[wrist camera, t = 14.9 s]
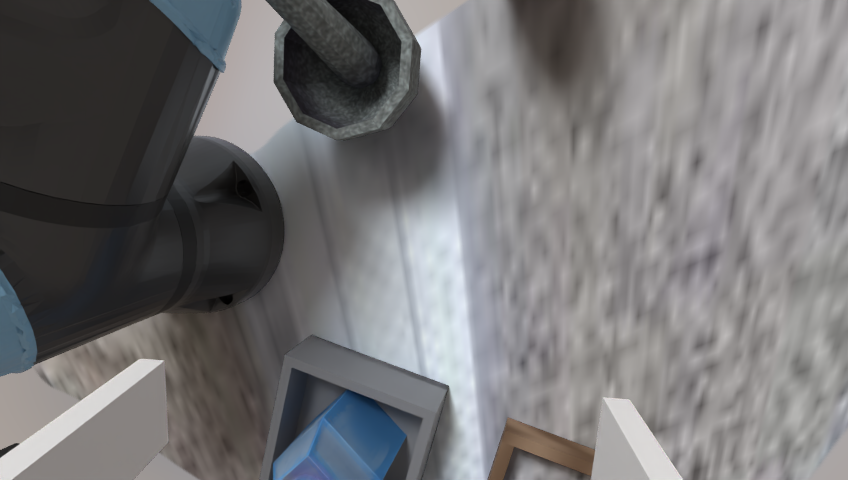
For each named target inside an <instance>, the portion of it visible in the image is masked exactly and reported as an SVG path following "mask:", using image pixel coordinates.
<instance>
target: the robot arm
mask: <svg viewBox="0 0 848 480" xmlns="http://www.w3.org/2000/svg"><path fill="white" fill-rule="evenodd" d="M240 12H241V0H0V376H3V375H7V374H9V373H21V372H24V371H26V370H28V369H30V368H32V366H34V365H35V364H37V363H40V362H42V361H45V360H47V359H49V358H52V357H54V356H57V355H59V354H62V353H64V352H66V351H69V350H71V349H74V348H76V347H78V346H81V345H83V344H86V343H88V342H91V341H93V340H95V339H98V338H100V337H103V336H105V335H107V334H110V333H112V332H115V331H117V330H120V329H122V328H124V327H127V326H129V325H132V324H134V323H137V322H139V321H142V320H144V319H147V318H149V317H152V316H154V315H157V314H159V313H211V312H217V311H221V310H225V309H227V308H230V307H232V306H234V305H236V304H239V303H241V302H243V301H245V300H247V299H249V298H251V297H252V296H254V295H255V294H256V293H258V292H259V291H260V290H261V289H262V288H263V287H264V286H265V285H266V283H267V282H268V281H269V279H270V278H271V277H272V275H273V273H274V271H275V269H276V267H277V265H278V262H279V259H280V256H281V252H282V247H283V240H284V222H283V215H282V209H281V206H280V202H279V199H278V196H277V194H276V191H275V189H274V187H273V185H272V183H271V181H270V179H269V178H268V176H267V174H266V173H265V172H264V170H263V169H262V168H261V166H260V165H259V164H258V163H257V162H256V161H255V160H254V159H253V158H252V157H251V156H250V155H249V154H248V153H246V152H245V151H244V150H242V149H241V148H239V147H237V146H235V145H234V144H232V143H230V142H227V141H225V140H222V139H219V138H215V137H207V136H193V135H194V133H195V131H196V128H197V126H198V124H199V121H200V119H201V117H202V114H203V112H204V109H205V107H206V105H207V102H208V100H209V98H210V95H211V93H212V91H213V88H214V86H215V84H216V81H217V79H218V77H219V74H220V72H223V73H224V71H225V68H226V63H225V60H224V59H225V56H226V53H227V50H228V47H229V45H230V42H231V39H232V36H233V33H234V30H235V27H236V25H237V22H238V19H239V16H240ZM168 442H169V440H168V419H167V398H166V377H165V361H163V360H152V359H139V360H137V361H136V362H135V363H133V364H132V365H130V366H129V367H128V368H126V369H125V370H123V371H122V372H121V373H119V374H118V375H116V376H115V377H113V378H112V379H111V380H109V381H108V382H106V383H105V384H104V385H102V386H101V387H99V388H98V389H97V390H95V391H94V392H92V393H91V394H90V395H88V396H87V397H85V398H84V399H83V400H81V401H80V402H78V403H77V404H76V405H74V406H73V407H71V408H70V409H68V410H67V411H66V412H64V413H63V414H62V415H60V416H59V417H57V418H56V419H54V420H53V421H52V422H50V423H49V424H47V425H46V426H45V427H43V428H42V429H40V430H39V431H38V432H36V433H35V434H33V435H32V436H30V437H29V438H28V439H26V440H25V441H23V442H22V443H21V444H18V443H16V444H13V445H11V446H8V447H6V448H4V449H2V450H0V480H133V479H135V478H136V476H137V475H138V474H139V473H140V472H141V471H142V470H143V469H144V468H145V467H146V466H147V465H148V464H149V463H150V461H151V460H152V459H153V458H154V457H155V456H156V455H157V454H158V453H159V452H160V451H161V450H162V449H163V447H164V446H165V445H166V444H167V443H168ZM591 480H683V479H682V478H681V476H680V475H679V473H678V472H677V470H676V469H675V467H674V466H673V464H672V463H671V461H670V460H669V458H668V457H667V455H666V454H665V452H664V451H663V449H662V448H661V446H660V445H659V443H658V442H657V440H656V439H655V437H654V436H653V434H652V433H651V431H650V430H649V428H648V427H647V425H646V424H645V422H644V421H643V419H642V418H641V416H640V415H639V413H638V412H637V410H636V409H635V407H634V406H633V404H632V403H631V401H630V400H629V399H617V398H606V397H603V400H602V407H601V413H600V420H599V427H598V434H597V441H596V448H595V455H594V462H593V468H592V475H591Z"/></svg>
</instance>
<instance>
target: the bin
mask: <svg viewBox="0 0 848 480" xmlns="http://www.w3.org/2000/svg"><path fill="white" fill-rule="evenodd" d="M448 387H449V386H448V385H445V384H442V383H440V382H437V381H434V380H432V379H429V378H426V377H423V376H421V375H418V374H415V373H413V372H410V371H407V370H405V369H402V368H399V367H396V366H394V365H391V364H388V363H386V362H383V361H380V360H377V359H375V358H372V357H369V356H367V355H364V354H361V353H359V352H356V351H353V350H350V349H348V348H345V347H342V346H340V345H337V344H334V343H332V342H329V341H326V340H323V339H321V338H318V337H315V336H313V335H311V336H310V337H308V338H307V339H306V340H304V341H303V342H301V343H300V344H299V345H297V346H296V347H295V348H293V349H292V350H290V351H289V352H288V353H286V354H285V355H284V360H283V365H282V370H281V375H280V380H279V385H278V389H277V394H276V399H275V404H274V409H273V414H272V419H271V424H270V429H269V434H268V438H267V443H266V448H265V453H264V458H263V463H262V468H261V473H260V478H259V480H273V462H274V461H275V460H276V459H277V458H278V457H279V456H280V455H281V454H282V453H283V452H284V451H285V449H286V448H287V447H288V446H289V445H290V444H291V443H292V442H293V441H294V440H295V439H296V438H297V437H298V435H299V434H300V433H301V432H302V431H303V430H304V429H305V428H306V427H307V426H308V425H309V424H310V423H311V422H312V421H313V420H314V419H315V418H316V417H317V416H318V415H319V414H320V413H321V412H322V411H324V410H325V409H326V408H327V407H328V406H329V405H330V404H331V403H332V402H333V401H334V400H335V399H337V398H338V397H339V396H340V395H341V394H342V393H343V392H344V391H345V390H346V389H349V390H351V391H354V392H357V393H359V394H362V395H364V396H367V397H370V398H372V399H374V400H375V401H376V402H377V404H378V405H379V406H380V407H381V408H382V409H383V410H384V411H385V412H386V413H387V414H388V416H389V417H390V418H391V419H392V420H393V421H394V422H395V423H396V424H397V425H398V426H399V428H400V429H401V430H402V431H403V432H404V433H405V434H406V435H407V436H406V438H405V440H404V441H403V443H402V445H401V447H400V449H399V451H398V452H397V454H396V456H395V458H394V460H393V462H392V463H391V465H390V467H389V469H388V471H387V473H386V474H385V476H384V478H383V480H422V477H423V473H424V470H425V466H426V463H427V460H428V456H429V453H430V449H431V446H432V442H433V439H434V435H435V432H436V429H437V425H438V422H439V418H440V415H441V411H442V408H443V405H444V401H445V398H446V394H447V391H448Z"/></svg>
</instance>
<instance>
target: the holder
mask: <svg viewBox="0 0 848 480" xmlns="http://www.w3.org/2000/svg"><path fill="white" fill-rule="evenodd" d="M514 447H517V448H519V449H522V450H524V451H527V452H530V453H532V454H535V455H537V456H540V457H543V458H545V459H548V460H550V461H553V462H556V463H558V464H561V465H563V466H566V467H569V468H571V469H574V470H576V471H579V472H582V473H584V474H587V475H589V476H591V475H592V468H593V462H594V455H595V450H594V449H591V448H588V447H586V446H583V445H580V444H578V443H575V442H572V441H570V440H567V439H564V438H562V437H559V436H556V435H553V434H551V433H548V432H545V431H543V430H540V429H537V428H535V427H532V426H529V425H527V424H524V423H521V422H519V421H516V420H513V419H511V418H508V419H507V422H506V425H505V428H504V431H503V434H502V437H501V440H500V443H499V446H498V449H497V452H496V455H495V458H494V461H493V465H492V468H491V471H490V474H489V477H488V480H503V479H504V476H505V473H506V470H507V467H508V464H509V461H510V458H511V455H512V452H513V449H514Z"/></svg>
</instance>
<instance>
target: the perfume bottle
mask: <svg viewBox="0 0 848 480" xmlns="http://www.w3.org/2000/svg"><path fill="white" fill-rule="evenodd" d="M406 436H407V435H406V434H405V433H404V432H403V431H402V430H401V429H400V428H399V426H398V425H397V424H396V423H395V422H394V421H393V420H392V419H391V418H390V417H389V416H388V414H387V413H386V412H385V411H384V410H383V409H382V408H381V407H380V406H379V405H378V404H377V402H376V401H375V400H374V399H372V398H370V397H367V396H364V395H362V394H359V393H357V392H354V391H351V390H349V389H346V390H345V391H344V392H343V393H342V394H341V395H340V396H339V397H338V398H337V399H335V400H334V401H333V402H332V403H331V404H330V405H329V406H328V407H327V408H326V409H325V410H324V411H322V412H321V413H320V414H319V415H318V416H317V417H316V418H315V419H314V420H313V421H312V422H311V423H310V424H309V425H308V426H307V427H306V428H305V429H304V430H303V431H302V432H301V433H300V434H299V435H298V437H297V438H296V439H295V440H294V441H293V442H292V443H291V444H290V445H289V446H288V447H287V448H286V449H285V451H284V452H283V453H282V454H281V455H280V456H279V457H278V458H277V459H276V460H275V461H274V462H273V480H383V478H384V476H385V474H386V473H387V471H388V469H389V467H390V465H391V463H392V462H393V460H394V458H395V456H396V454H397V452H398V451H399V449H400V447H401V445H402V443H403V441H404V440H405V438H406Z"/></svg>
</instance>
